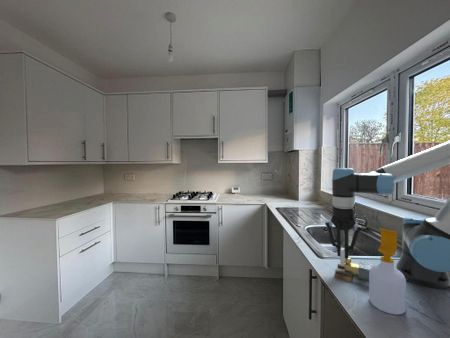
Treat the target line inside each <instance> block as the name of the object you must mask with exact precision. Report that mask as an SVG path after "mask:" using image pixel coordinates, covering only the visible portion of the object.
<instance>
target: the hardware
mask: <svg viewBox="0 0 450 338" xmlns="http://www.w3.org/2000/svg"><path fill="white" fill-rule="evenodd" d="M358 265H359V280H363V281H367V282H369V271H370V269H371V267H372V266H373V262H369V261H365V260H359V264H358ZM374 265H377V263H375V264H374ZM337 267H339V268H343V269H345V267H344V266H340V263H337ZM334 271H335V272H334V274H335V273H337V274H341V275H344V276H348V277H351V273H347V272H344V271H340V270H337V269H335V270H334Z"/></svg>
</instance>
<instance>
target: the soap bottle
mask: <svg viewBox="0 0 450 338" xmlns="http://www.w3.org/2000/svg"><path fill="white" fill-rule="evenodd" d="M378 230H379V231H380V246H379V248H377V249H378V250H377V251H378V252H380V253H381V254H382V255H383V256H380V262H379V263H378V264H377V263H376V264H377V265H375V264H374V265H372V267H371V269H370V271H369V287H368V299H369V302H370V303H371V304H372V306H373V307H375V309H378V310H380V311H382V312H384V313H387V314H390V315H391V314H392V315H398V316H399V315H403V314H405V311H406V304H407V303H406V301H407V300H406V298H407V297H406V292H407V280H406V279H405V276H404V275H403V274H402V273H401V272H400V271H399V270H398V269H396V267H395V265H394V264H395V260H394V259H393V258H391V257H392V256H395V255H396V252H397V250H398V249H397V247H398V232H397V231H396V230H390V229H384V228H381V227H380V228H378Z"/></svg>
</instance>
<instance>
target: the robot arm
mask: <svg viewBox="0 0 450 338" xmlns="http://www.w3.org/2000/svg"><path fill="white" fill-rule="evenodd" d="M449 165H450V140H448V141H446V142H444V143H441V144H438V145H435V146H433V147H431V148H427V149H426V150H423V151H421V152H417V153H415V154H413V155H412V154H411V155H410V156H408V157H405V158H402V159H399V160H397V161H395V162H392V163H389V164H387V165H384V166H382V167H379V168H377V169H373V170H369V171H367V172H364V173H360V172H359V173H357V172H355V169H354V168H352V167H335V168H334V169H333V170H332V179H331V181H332V183H331V184H332V188H331V189H332V193H331V196H332V199H331V201H332V203H331V204H332V208H331V209H332V211H331V212H332V216H331V219H330V220H327V221H326V222H325V223H324V224H325V226H326V228H327V230H328V233H329V237H330V242H331V245H332V246H333V247H335V248H336V249H337V250H336V252H337V254H336V255H337V257H340V263H339V264H340V266H344V267H345V258H348V257H349V256H350V255H349V251H353V250H354V248H355V246H356V245H355V244H356V241H357V238H358V235H359V233H360V231H362V229H363V226H362V225H359V224H358V223H356V220H355V209H354V206H355V193H357V194H359V193H361V194H373V195H381V196H382V195H391V194H392V195H393V193H394V190H395V189H394V188H395V183H398V182H402V181H405V180H408V179H410V178H414V177H416V176H419V175H423V174H425V173H428V172H431V171H434V170H436V169H440V168H443V167H445V166H449ZM333 225H334V227H335V228H336V232H337V233H336V235H337V236H335V232H334V228H333ZM401 225H402V240H401V241H402V242H401V243H402V244H401V245H402V247H401V248H402V249H401V251H402V252H401V255H400V257H399V259H398V262H397V263H396V267H395V268H396V269H398V270H399V271H400V272H401V273H402V274H403V275H404V276H405V279H406V281H408V282H411V283H414V284H416V285H420V286H423V287H427V288H432V289H439V290H441V289H448V288H450V276H449V272H450V197H449V198H448V199H447V200H446V201H445V203H444V204H443V205H442V207H441V208H440V209H439V210H438V211H437V213H436V214H435V215H434V216H433V217H427V218H424V217H417V216H416V217H415V216H405V217H404V218H403V219H402V223H401ZM353 227H354V228H353ZM352 228H353V229H354V232H353V237H352V239H351V243H350V240H349V239H350V238H349V237H350V234H349V233H350V230H351V229H352ZM343 231H344V232H343ZM342 232H343V233H344V247H342V246H343V244H342ZM336 238H337V239H336ZM349 243H350V245H349Z"/></svg>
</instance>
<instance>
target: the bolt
mask: <svg viewBox="0 0 450 338" xmlns="http://www.w3.org/2000/svg"><path fill="white" fill-rule="evenodd" d="M345 272H347V273H351V274H354V275H358V276H359V264H358V263H354V262H352V258H351V257H349V256H348V258H345Z"/></svg>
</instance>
